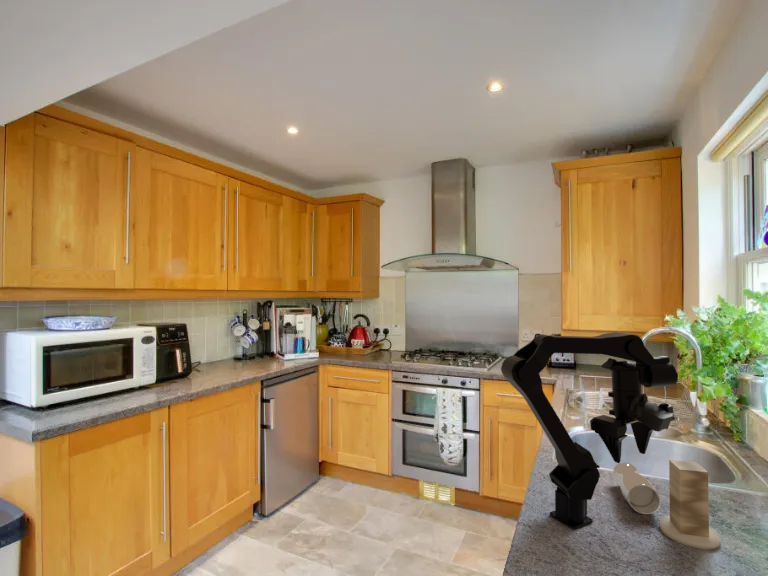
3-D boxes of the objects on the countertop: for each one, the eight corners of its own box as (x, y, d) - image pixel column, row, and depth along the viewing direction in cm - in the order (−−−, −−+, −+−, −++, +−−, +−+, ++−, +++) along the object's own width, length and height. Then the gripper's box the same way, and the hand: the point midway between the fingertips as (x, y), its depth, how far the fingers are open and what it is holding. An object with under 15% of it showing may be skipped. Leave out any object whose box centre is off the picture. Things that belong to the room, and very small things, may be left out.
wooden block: (680, 533, 82) (679, 469, 83) (669, 520, 87) (669, 459, 88) (709, 537, 81) (708, 472, 81) (696, 523, 86) (695, 462, 86)
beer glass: (629, 455, 106) (647, 478, 92) (647, 480, 104) (668, 506, 90) (605, 468, 107) (619, 492, 93) (622, 492, 106) (640, 521, 92)
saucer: (703, 555, 77) (703, 548, 78) (649, 528, 86) (649, 522, 86) (730, 541, 82) (730, 535, 82) (676, 516, 91) (676, 511, 91)
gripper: (637, 402, 80) (641, 482, 80) (689, 389, 89) (692, 461, 88) (587, 391, 90) (590, 462, 90) (637, 380, 99) (640, 445, 98)
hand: (630, 457), depth 91 cm, fingers open, 9 cm apart
